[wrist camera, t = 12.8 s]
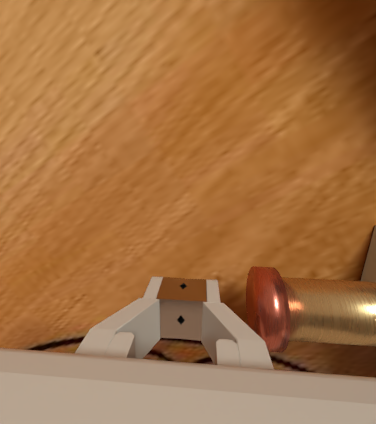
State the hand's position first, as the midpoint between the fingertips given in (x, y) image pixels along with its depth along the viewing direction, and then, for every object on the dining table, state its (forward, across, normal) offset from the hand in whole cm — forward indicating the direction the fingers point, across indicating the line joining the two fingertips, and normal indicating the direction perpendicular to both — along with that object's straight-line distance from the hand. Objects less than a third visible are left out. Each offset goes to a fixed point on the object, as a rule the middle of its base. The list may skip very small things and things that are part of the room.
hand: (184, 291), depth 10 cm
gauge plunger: (+1, -8, 0) cm, 8 cm away
